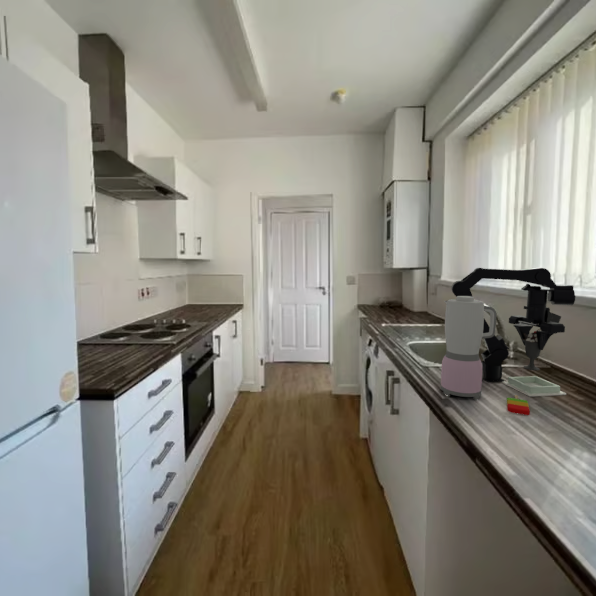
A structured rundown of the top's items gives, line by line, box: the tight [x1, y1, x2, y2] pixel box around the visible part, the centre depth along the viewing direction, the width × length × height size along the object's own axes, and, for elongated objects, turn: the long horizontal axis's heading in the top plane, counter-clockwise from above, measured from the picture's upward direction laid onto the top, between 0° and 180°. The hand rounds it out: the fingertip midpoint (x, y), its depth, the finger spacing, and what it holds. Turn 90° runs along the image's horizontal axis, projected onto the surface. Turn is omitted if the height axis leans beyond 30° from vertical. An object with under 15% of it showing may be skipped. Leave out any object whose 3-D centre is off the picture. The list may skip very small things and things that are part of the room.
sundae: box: [521, 328, 542, 371], centre depth 127 cm, size 7×7×15 cm
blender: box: [439, 296, 497, 401], centre depth 116 cm, size 16×12×32 cm
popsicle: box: [506, 394, 531, 416], centre depth 109 cm, size 6×15×2 cm, turn 151°
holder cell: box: [501, 375, 567, 397], centre depth 123 cm, size 13×13×2 cm
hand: (533, 347), depth 127 cm, fingers closed on sundae, 6 cm apart
